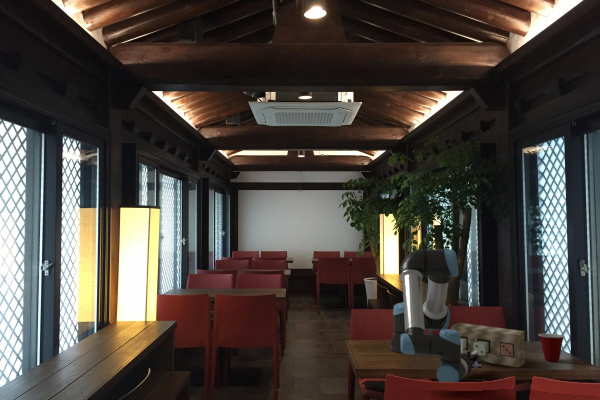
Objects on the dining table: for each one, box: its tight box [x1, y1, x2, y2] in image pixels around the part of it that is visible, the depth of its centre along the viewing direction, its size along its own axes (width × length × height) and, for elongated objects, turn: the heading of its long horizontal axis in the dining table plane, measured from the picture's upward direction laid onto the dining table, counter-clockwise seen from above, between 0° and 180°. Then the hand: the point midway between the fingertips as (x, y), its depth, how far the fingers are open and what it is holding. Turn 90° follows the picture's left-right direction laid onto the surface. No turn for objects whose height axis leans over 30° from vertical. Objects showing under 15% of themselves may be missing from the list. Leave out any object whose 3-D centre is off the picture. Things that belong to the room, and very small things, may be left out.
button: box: [460, 337, 467, 352], centre depth 217 cm, size 5×8×5 cm, turn 142°
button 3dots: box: [501, 343, 514, 356], centre depth 210 cm, size 5×8×5 cm, turn 142°
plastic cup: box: [537, 333, 565, 363], centre depth 215 cm, size 11×11×12 cm
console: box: [450, 322, 526, 368], centre depth 217 cm, size 30×10×14 cm, turn 52°
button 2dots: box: [473, 340, 489, 356], centre depth 211 cm, size 5×8×5 cm, turn 142°
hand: (476, 353), depth 202 cm, fingers closed
